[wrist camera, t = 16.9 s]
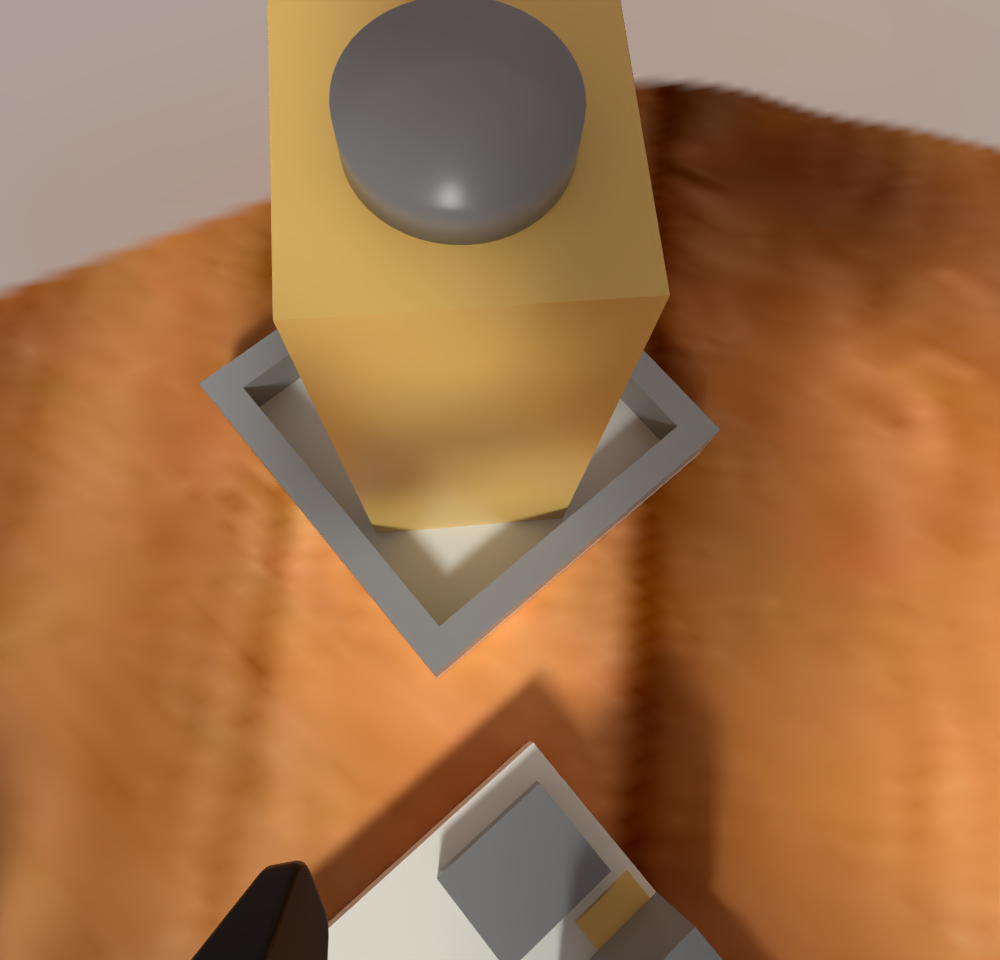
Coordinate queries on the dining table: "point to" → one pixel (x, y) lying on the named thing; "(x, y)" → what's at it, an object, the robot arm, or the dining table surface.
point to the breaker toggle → (657, 936)
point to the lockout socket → (466, 549)
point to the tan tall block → (460, 244)
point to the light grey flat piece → (499, 880)
